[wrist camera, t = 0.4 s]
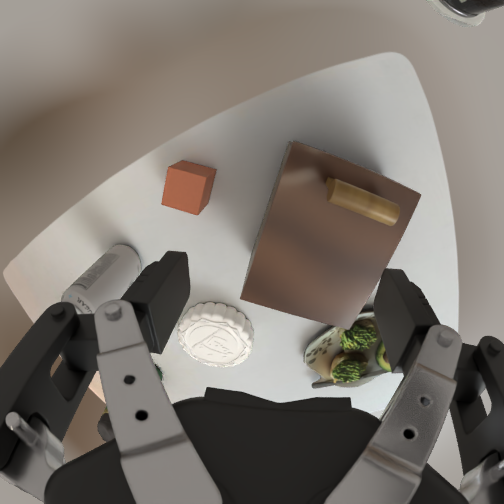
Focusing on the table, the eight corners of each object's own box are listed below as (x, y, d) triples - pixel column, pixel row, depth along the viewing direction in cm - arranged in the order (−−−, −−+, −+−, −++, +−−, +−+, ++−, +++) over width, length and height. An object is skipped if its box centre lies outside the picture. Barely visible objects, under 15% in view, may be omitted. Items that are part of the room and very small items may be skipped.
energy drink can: (121, 279, 43) (71, 339, 30) (105, 246, 41) (46, 301, 28) (149, 272, 42) (101, 337, 29) (133, 237, 39) (74, 295, 26)
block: (182, 160, 34) (168, 166, 30) (216, 169, 34) (206, 177, 30) (175, 193, 36) (161, 204, 32) (208, 203, 36) (197, 215, 32)
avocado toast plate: (335, 396, 51) (337, 415, 47) (277, 354, 46) (275, 375, 42) (419, 349, 43) (426, 367, 39) (374, 291, 39) (382, 310, 35)
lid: (292, 140, 23) (294, 146, 18) (418, 192, 23) (443, 210, 18) (240, 294, 30) (232, 327, 26) (348, 325, 30) (355, 358, 26)
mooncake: (220, 363, 49) (216, 378, 46) (169, 323, 46) (161, 337, 43) (270, 335, 45) (268, 351, 41) (214, 287, 42) (209, 301, 38)
